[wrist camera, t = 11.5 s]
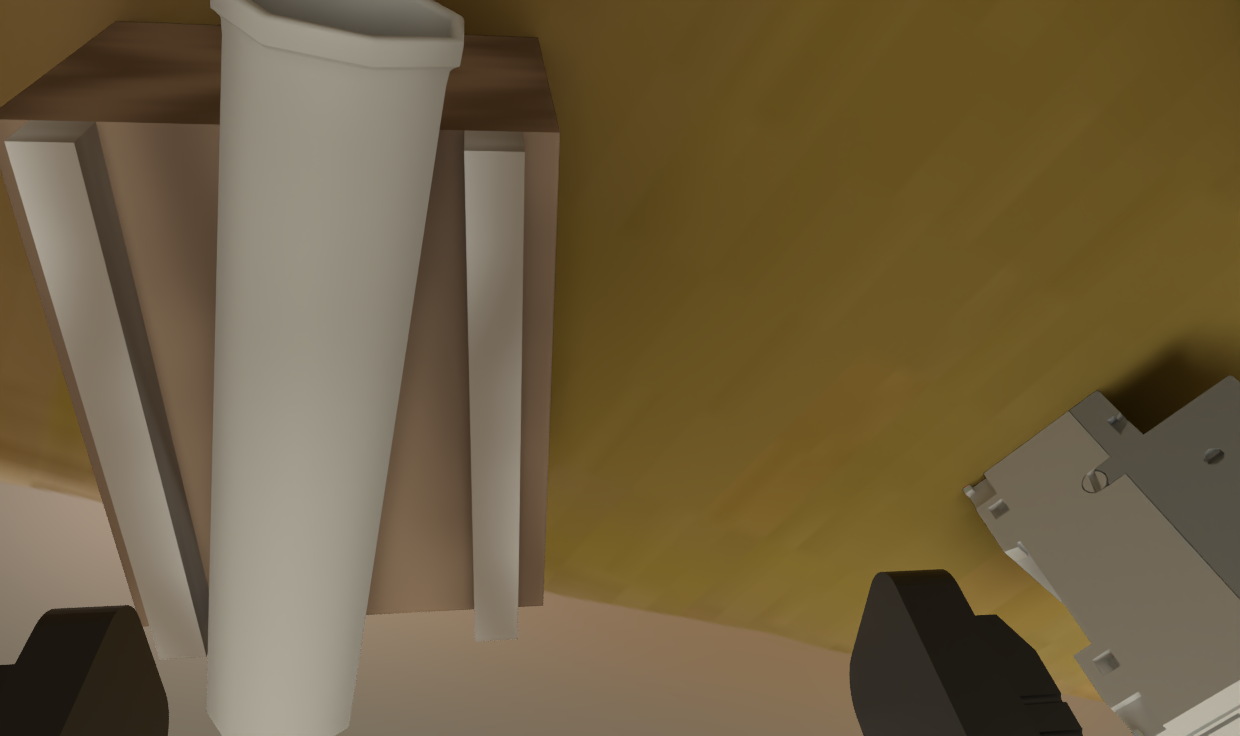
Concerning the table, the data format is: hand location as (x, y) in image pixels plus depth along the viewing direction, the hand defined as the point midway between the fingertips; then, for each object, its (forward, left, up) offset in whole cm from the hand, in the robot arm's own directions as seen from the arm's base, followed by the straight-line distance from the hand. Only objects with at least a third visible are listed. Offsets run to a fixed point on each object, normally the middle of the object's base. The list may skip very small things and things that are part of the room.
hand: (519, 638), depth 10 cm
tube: (+5, +9, -17) cm, 20 cm away
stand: (+5, +9, -27) cm, 29 cm away
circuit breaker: (-32, +19, -27) cm, 46 cm away
